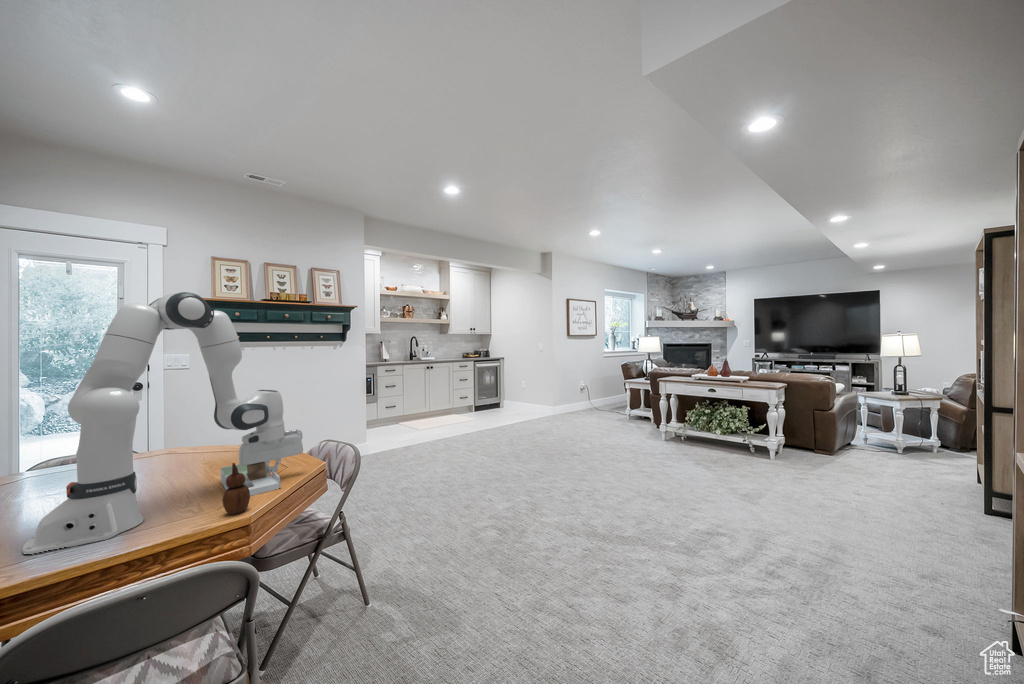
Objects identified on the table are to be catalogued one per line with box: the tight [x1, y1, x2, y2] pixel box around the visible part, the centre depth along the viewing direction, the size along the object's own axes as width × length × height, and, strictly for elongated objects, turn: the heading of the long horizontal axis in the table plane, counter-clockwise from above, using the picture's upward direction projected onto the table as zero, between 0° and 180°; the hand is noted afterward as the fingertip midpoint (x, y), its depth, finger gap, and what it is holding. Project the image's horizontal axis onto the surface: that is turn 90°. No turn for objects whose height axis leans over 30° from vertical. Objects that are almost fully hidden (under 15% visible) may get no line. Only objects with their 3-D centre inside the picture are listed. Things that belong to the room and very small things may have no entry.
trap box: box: [220, 463, 281, 497], centre depth 147 cm, size 14×28×5 cm, turn 41°
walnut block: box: [247, 462, 267, 481], centre depth 148 cm, size 5×5×5 cm
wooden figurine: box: [222, 462, 251, 515], centre depth 122 cm, size 7×6×15 cm
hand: (273, 471), depth 151 cm, fingers closed
